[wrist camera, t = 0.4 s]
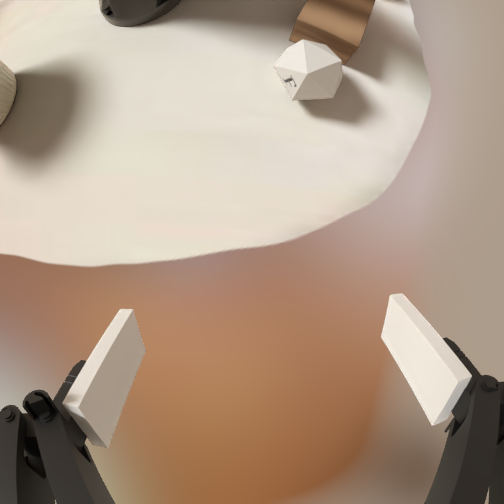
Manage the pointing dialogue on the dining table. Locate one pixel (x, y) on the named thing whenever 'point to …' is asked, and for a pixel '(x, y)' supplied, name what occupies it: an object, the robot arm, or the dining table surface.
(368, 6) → the plinth
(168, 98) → the dining table surface
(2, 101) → the canister
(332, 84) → the die
